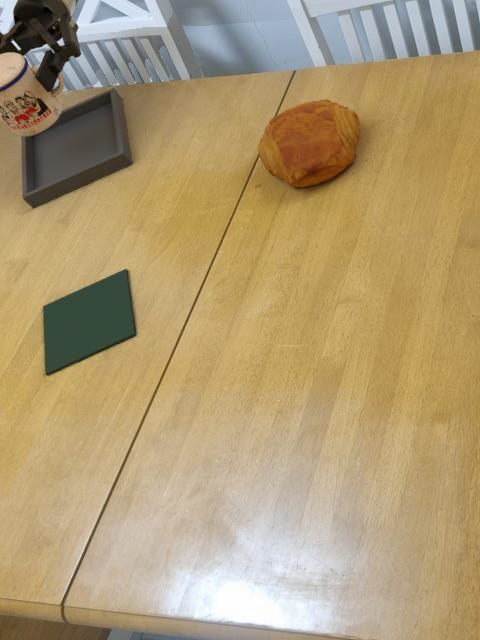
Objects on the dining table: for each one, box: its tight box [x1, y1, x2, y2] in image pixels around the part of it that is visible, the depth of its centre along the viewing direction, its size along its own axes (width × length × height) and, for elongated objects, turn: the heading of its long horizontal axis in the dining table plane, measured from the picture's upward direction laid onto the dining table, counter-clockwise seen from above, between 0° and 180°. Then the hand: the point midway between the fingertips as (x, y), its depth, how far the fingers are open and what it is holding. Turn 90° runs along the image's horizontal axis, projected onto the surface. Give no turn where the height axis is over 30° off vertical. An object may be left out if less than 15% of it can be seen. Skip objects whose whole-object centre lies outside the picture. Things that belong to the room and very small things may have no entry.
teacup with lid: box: [0, 52, 65, 137], centre depth 113 cm, size 12×9×12 cm
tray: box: [20, 87, 133, 209], centre depth 124 cm, size 18×20×2 cm
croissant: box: [257, 99, 361, 188], centre depth 108 cm, size 14×16×8 cm
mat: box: [42, 268, 137, 376], centre depth 102 cm, size 13×13×1 cm
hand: (7, 93), depth 110 cm, fingers closed on teacup with lid, 12 cm apart
